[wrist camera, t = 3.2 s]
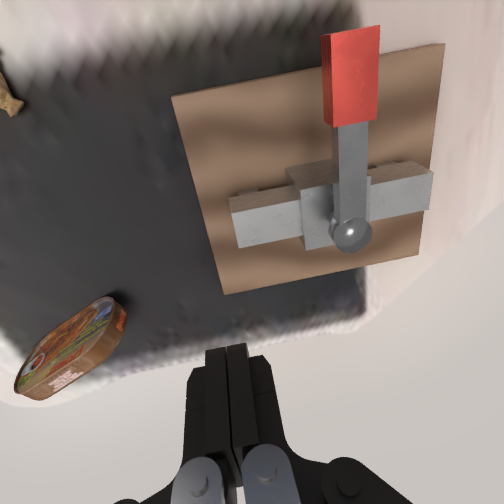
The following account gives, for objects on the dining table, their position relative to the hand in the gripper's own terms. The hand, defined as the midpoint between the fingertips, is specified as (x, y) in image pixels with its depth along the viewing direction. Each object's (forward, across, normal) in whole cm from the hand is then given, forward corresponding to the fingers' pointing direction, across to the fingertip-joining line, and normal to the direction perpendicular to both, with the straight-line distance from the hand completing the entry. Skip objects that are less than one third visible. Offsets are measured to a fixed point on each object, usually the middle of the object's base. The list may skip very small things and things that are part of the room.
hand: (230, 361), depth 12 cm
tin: (+24, +20, +17) cm, 36 cm away
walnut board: (+24, -10, +4) cm, 27 cm away
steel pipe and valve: (+23, -10, +4) cm, 25 cm away
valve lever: (+17, -10, -2) cm, 19 cm away
